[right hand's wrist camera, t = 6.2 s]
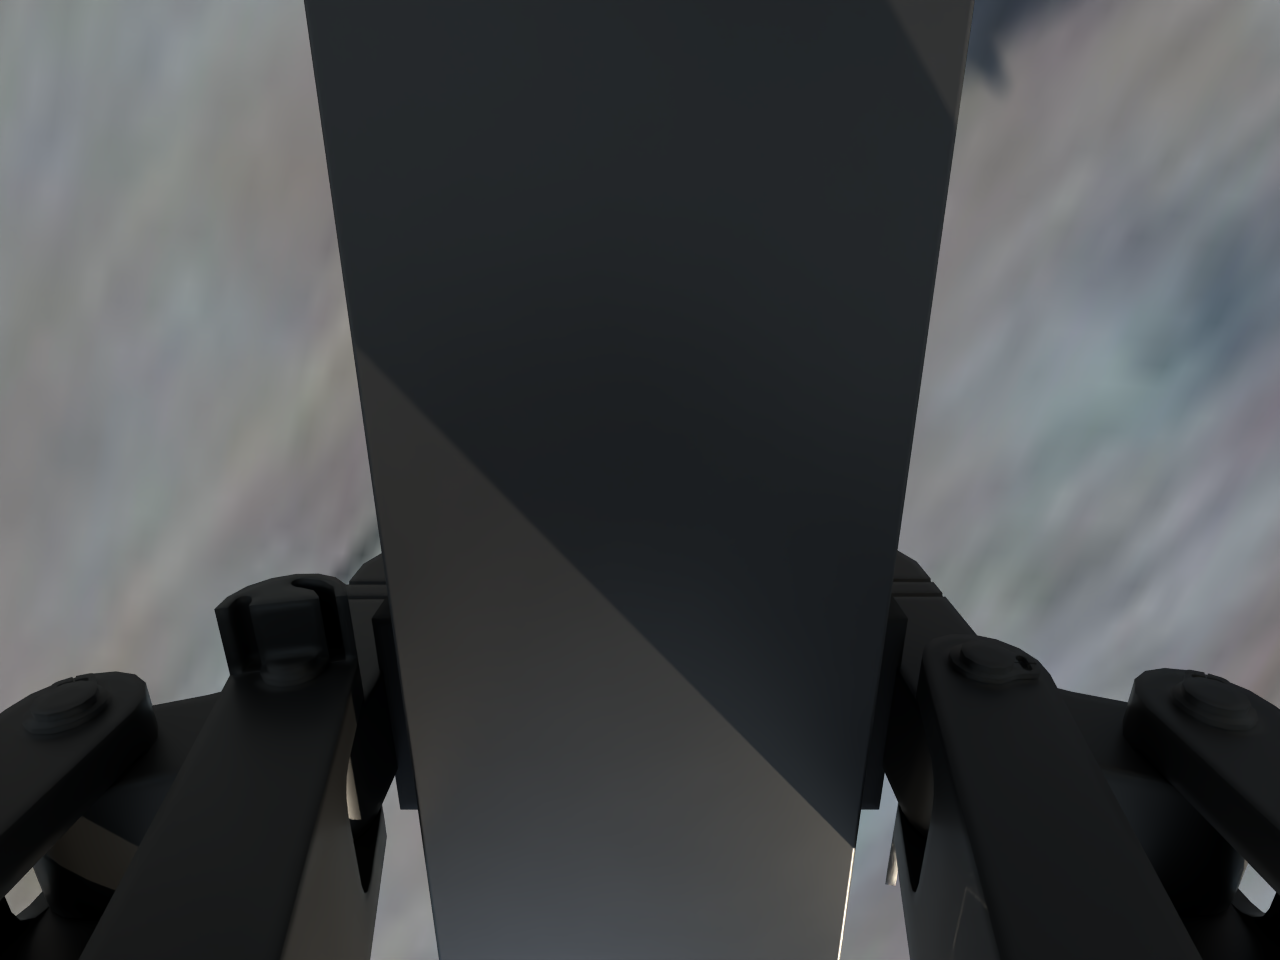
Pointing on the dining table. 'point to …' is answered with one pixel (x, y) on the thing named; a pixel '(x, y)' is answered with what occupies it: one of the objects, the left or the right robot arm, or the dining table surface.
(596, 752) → the bar
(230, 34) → the dining table surface
